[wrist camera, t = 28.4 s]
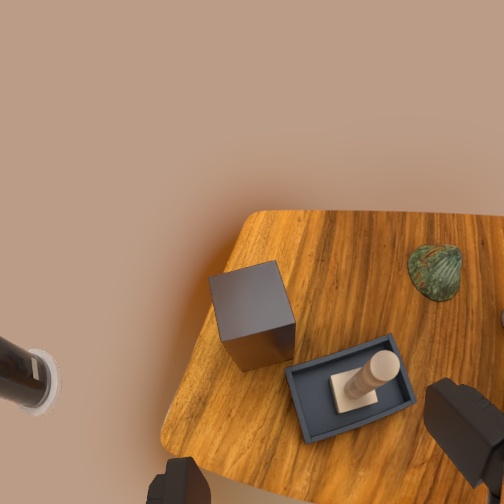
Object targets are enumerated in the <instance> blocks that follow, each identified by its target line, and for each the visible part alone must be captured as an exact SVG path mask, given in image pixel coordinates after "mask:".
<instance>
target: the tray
mask: <svg viewBox="0 0 504 504" xmlns="http://www.w3.org/2000/svg"><path fill="white" fill-rule="evenodd" d="M383 350H387V351H391V352H393V353H394V354H395V355H396V356H397V357H398V359H399V362H400V369H399V372H398V374H397V375H396V376H395V377H394V378H393V379H392V380H390V381H388V382H387V383H385V384H383V385H382V386H380V387H378V388H376V389H375V392H376V396H377V400H378V402H376V403H374V404H371V405H368V406H365V407H362V408H358V409H355V410H351V411H348V412H344V413H341V414H337V415H336V412H335V408H334V404H333V400H332V395H331V391H330V387H329V383H328V379H329V378H330V376H331V375H335V374H339V373H343V372H346V371H350V370H354V369H357V368H361V367H363V366H364V365H365V364H366V363H367V362H368V361H369V360H370V359H371V358H372V357H373V356H374V355H375V354H376V353H377V352H379V351H383ZM285 376H286V379H287V383H288V386H289V390H290V393H291V397H292V400H293V404H294V407H295V411H296V414H297V418H298V421H299V425H300V428H301V432H302V435H303V439H304V442H305V444H310V443H313V442H316V441H320V440H323V439H326V438H329V437H332V436H335V435H338V434H341V433H344V432H347V431H350V430H352V429H355V428H358V427H361V426H363V425H366V424H368V423H371V422H374V421H376V420H379V419H381V418H383V417H386V416H388V415H391V414H393V413H395V412H398V411H400V410H402V409H404V408H406V407H409V406H411V405H413V404H415V403H417V400H416V397H415V394H414V392H413V389H412V386H411V383H410V380H409V377H408V375H407V372H406V369H405V366H404V364H403V361H402V358H401V356H400V353H399V351H398V348H397V345H396V343H395V340H394V338H393V335H392V333H390V334H388V335H385V336H382V337H380V338H377V339H374V340H372V341H369V342H366V343H363V344H361V345H358V346H355V347H352V348H349V349H346V350H343V351H340V352H337V353H334V354H331V355H328V356H325V357H321V358H318V359H315V360H312V361H308V362H305V363H302V364H298V365H295V366H291V367H287V368H285Z"/></svg>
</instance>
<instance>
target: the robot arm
mask: <svg viewBox="0 0 504 504" xmlns="http://www.w3.org/2000/svg"><path fill="white" fill-rule="evenodd" d="M50 389H51V373H50V369H49V367H48V365H47V363H46V362H45V360H44V359H42V358H41V357H39V356H37V355H35V354H32V353H30V352H28V351H26V350H24V349H23V348H21V347H19V346H17V345H15V344H13V343H11V342H10V341H8V340H6V339H4V338H3V337H1V336H0V398H2V399H5V400H8V401H11V402H15V403H18V404H21V405H23V406H26V407H29V408H37V407H39V406H41V405H42V404H43V403H44V402H45V401H46V399H47V397H48V395H49V393H50ZM424 423H425V426H426V429H427V430H428V432H429V433H430V434H431V436H432V437H433V438H434V439H435V441H436V442H437V443H438V444H439V446H440V447H441V448H442V449H443V451H444V452H445V453H446V454H447V456H448V457H449V458H450V459H451V461H452V462H453V463H454V464H455V466H456V467H457V468H458V469H459V471H460V472H461V473H462V475H463V476H464V477H465V478H466V480H467V481H468V482H469V484H470V485H471V486H472V487H473V489H474V488H475V487H477V486H478V485H480V484H481V483H483V482H484V483H485V484H486V486H487V488H486V491H485V499H484V504H504V413H502V412H501V411H500V410H499V409H498V408H497V407H496V406H494V405H493V404H491V402H490V401H489V400H488V399H486V398H484V396H483V395H482V394H481V393H480V392H478V391H477V390H476V389H475V388H472V387H470V386H467V385H464V384H461V385H459V386H457V385H456V384H455V383H454V382H453V381H452V380H451V379H449V378H447V377H446V378H443V379H441V380H439V381H437V382H436V383H434V384H432V385H430V386H428V387H427V388H426V396H425V407H424ZM146 504H211V493H210V488H209V485H208V483H207V481H206V479H205V477H204V476H203V474H202V473H201V471H200V469H199V468H198V466H197V464H196V463H195V461H194V459H193V458H192V457H183V458H174V459H169V460H168V461H167V466H166V472H165V474H158V475H156V477H155V478H154V480H153V481H152V483H151V484H150V486H149V490H148V495H147V501H146Z"/></svg>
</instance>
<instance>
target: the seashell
mask: <svg viewBox="0 0 504 504" xmlns="http://www.w3.org/2000/svg"><path fill="white" fill-rule="evenodd" d="M461 264H462V255H461V252H460V250H459V249H458V248H457V247H455V246H453V245H449V244H436V245H434V244H424V245H423V246H420V247H418V249H416V250H415V252H414V253H412V254H411V255H410V259H409V260H408V269H409V274H410V276H411V279H412V280H413V282H414V285H415V286H416V288H417V290H420V291H421V293H422V294H424V295H425V296H427V297H429V298H430V299H432V300H435V301H446V300H448V299H451V298H452V297H453V296H454V295H455V294H456V293H457V291H458V290H459V288H460V269H461Z"/></svg>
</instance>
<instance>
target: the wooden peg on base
mask: <svg viewBox="0 0 504 504" xmlns="http://www.w3.org/2000/svg"><path fill="white" fill-rule="evenodd" d="M399 369H400V362H399V359H398V357H397V356H396V355H395V354H394V353H393V352H391V351H387V350H383V351H379V352H377V353H376V354H375V355H374V356H373V357H372V358H371V359H370V360H369V361H368V362H367V363H366V364H365V365H364V366H363V367H361V368H357V369H354V370H350V371H346V372H343V373H339V374H335V375H331V376H330V378H329V379H328V383H329V387H330V391H331V395H332V400H333V404H334V408H335V412H336V415H337V414H341V413H344V412H348V411H351V410H355V409H358V408H362V407H365V406H368V405H371V404H374V403H376V402H378V400H377V396H376V392H375V389H376V388H378V387H380V386H382V385H383V384H385V383H387V382H388V381H390V380H392V379H393V378H394V377H395V376H396V375H397V374H398V372H399Z"/></svg>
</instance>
